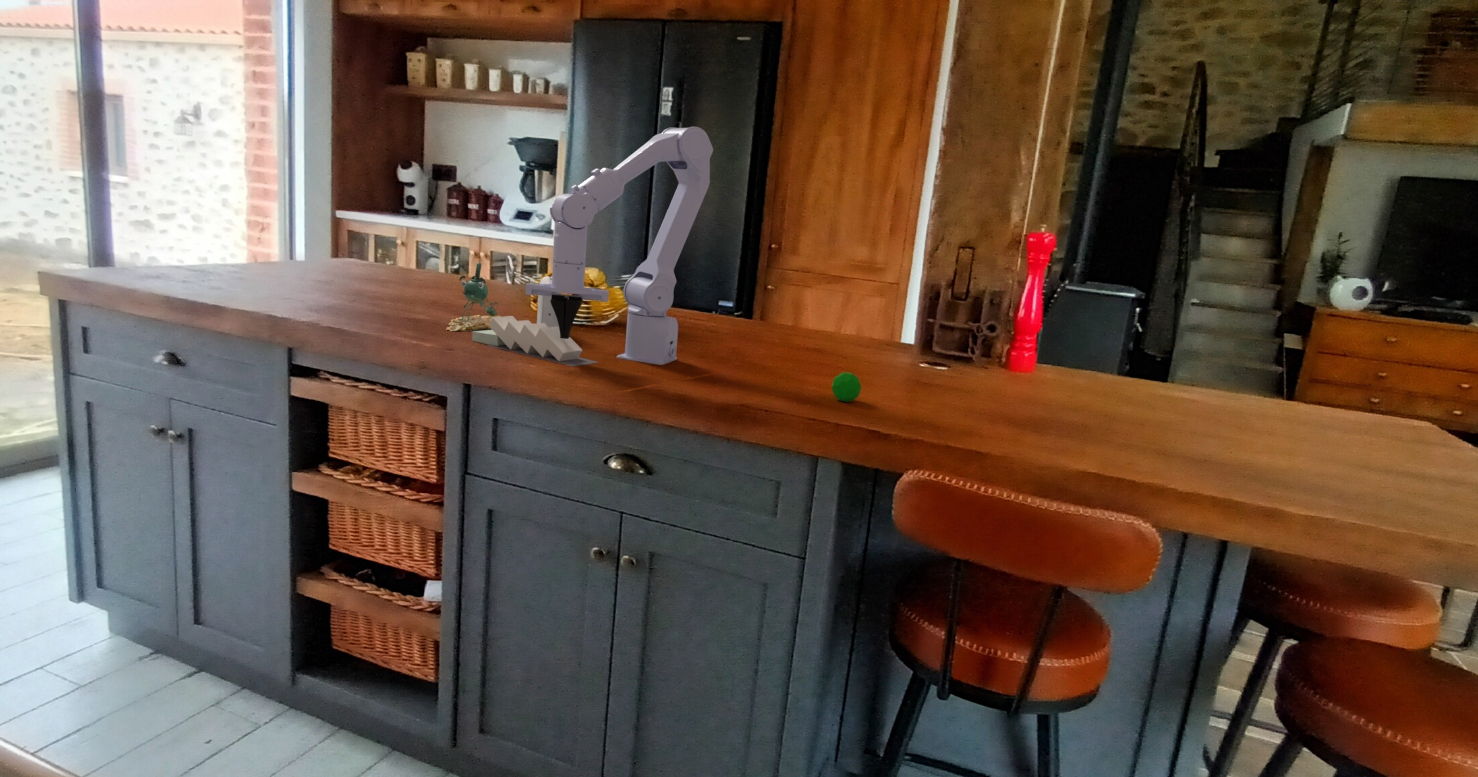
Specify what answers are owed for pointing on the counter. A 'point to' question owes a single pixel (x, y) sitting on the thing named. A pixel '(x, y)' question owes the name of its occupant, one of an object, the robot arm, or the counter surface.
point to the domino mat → (551, 358)
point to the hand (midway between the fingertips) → (564, 337)
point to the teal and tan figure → (475, 294)
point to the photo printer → (546, 307)
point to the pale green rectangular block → (487, 337)
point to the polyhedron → (846, 387)
